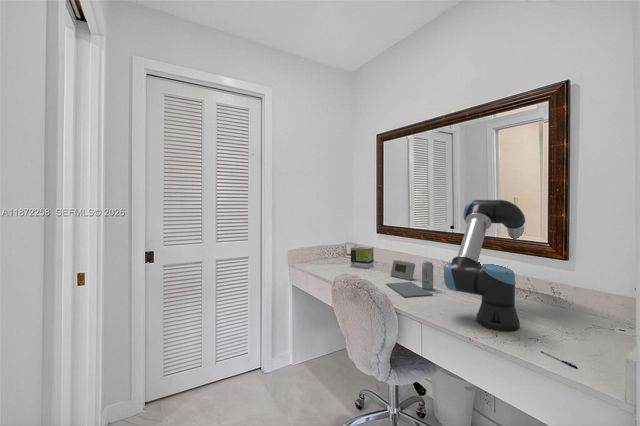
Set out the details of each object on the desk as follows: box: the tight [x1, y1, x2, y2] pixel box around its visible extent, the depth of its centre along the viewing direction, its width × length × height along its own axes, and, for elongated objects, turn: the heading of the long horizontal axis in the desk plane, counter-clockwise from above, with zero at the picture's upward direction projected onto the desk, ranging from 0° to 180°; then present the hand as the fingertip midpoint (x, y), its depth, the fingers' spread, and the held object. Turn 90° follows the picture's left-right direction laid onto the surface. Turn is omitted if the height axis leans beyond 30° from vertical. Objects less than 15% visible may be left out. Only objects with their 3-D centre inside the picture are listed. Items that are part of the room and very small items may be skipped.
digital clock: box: [390, 259, 416, 281], centre depth 195 cm, size 16×9×11 cm, turn 31°
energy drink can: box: [421, 261, 434, 291], centre depth 170 cm, size 6×6×15 cm
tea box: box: [350, 245, 375, 269], centre depth 229 cm, size 15×10×15 cm, turn 58°
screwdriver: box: [540, 351, 578, 370], centre depth 94 cm, size 10×1×1 cm, turn 21°
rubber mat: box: [385, 281, 434, 299], centre depth 169 cm, size 24×16×1 cm, turn 10°
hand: (444, 268), depth 172 cm, fingers closed
